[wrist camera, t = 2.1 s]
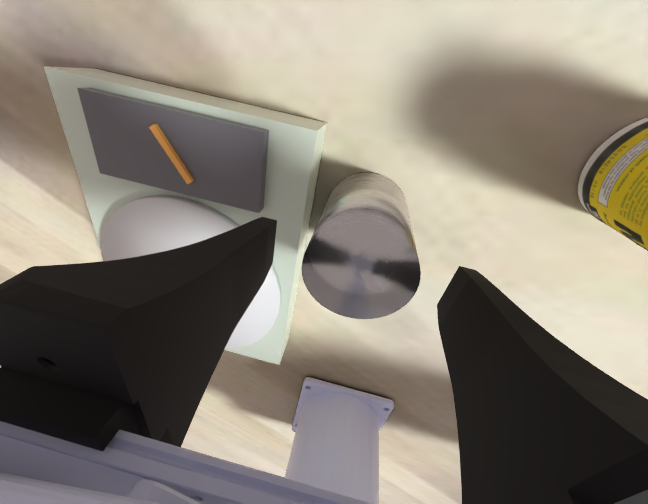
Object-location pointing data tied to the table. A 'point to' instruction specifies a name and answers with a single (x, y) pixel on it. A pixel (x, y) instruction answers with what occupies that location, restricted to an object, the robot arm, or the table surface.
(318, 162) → the scale
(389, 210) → the cylinder
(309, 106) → the table surface
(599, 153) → the supplement bottle
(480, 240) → the table surface
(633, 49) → the table surface
